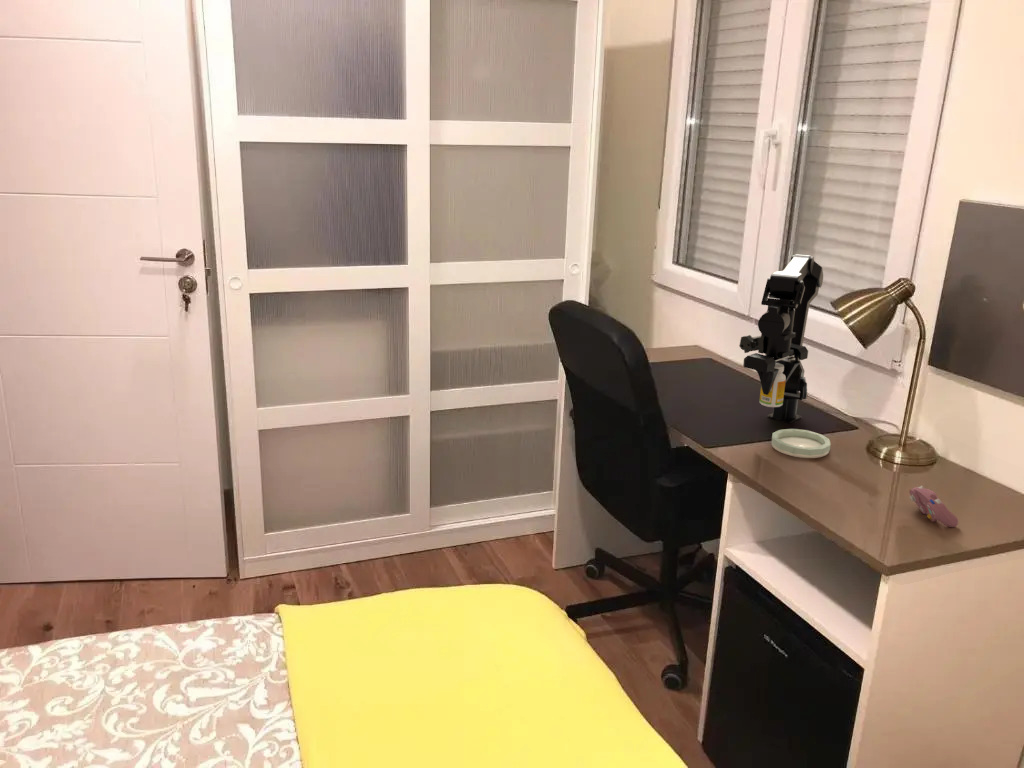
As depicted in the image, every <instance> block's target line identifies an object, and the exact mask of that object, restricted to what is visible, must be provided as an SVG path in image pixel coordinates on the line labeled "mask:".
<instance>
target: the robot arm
mask: <svg viewBox="0 0 1024 768" xmlns="http://www.w3.org/2000/svg"><path fill="white" fill-rule="evenodd" d="M823 271H824V269H823V267H822V266H821V265H820V264H819V263H817V262H816V261H815V258H814V256H812V255H809V254H797V253H796V254H793V255H791V257H790V260H789V262H788V264H787V265H786V266H785V268H783V270H778V271H777V270H775V271H774V272H772V273H771V274H770V277H768V278H767V280H766V283H765V287H764V291H763V295H762V298H761V299H762V300H761V306H767V309H766V310H767V311H766V312H764V313H763V314H762V315H761V316H760V317H759V318H758V319H759V320H758V321H757V328H758V330H759V332H760V335H757V336H753V337H752V335H750V334H749V335H744V336H741V337H740V340H739V341H740V342H739V348H740V349H741V350H742V351H744V354H747V353H750V352H755V353H752V354H749V355H747V356H745V357H743V362H742V363H743V365H742V366H743V368H745V369H750V370H752V371H755V372H757V374H758V377H759V381H760V387H761V386H762V390H763V394H765V395H768V394H769V392H770V390H771V387H772V385H773V383H774V380H775V378H776V376H777V373H778V371H779V369H775V364H776V363H779V364H783V365H784V371H783V372H782V373H783V374H784V375H785V376H786V382H785V390H784V398H783V404H782V406H780V407H773V410H772V411H773V412H772V413H770V414H768V415H766V417H767V418H769V419H772V420H777V421H780V422H784V423H787V424H791V423H794V422H796V421H798V420H800V419H801V418H802V415H799V414H797V412H798V411H797V410H798V403H799V401H802V400H807V397H808V396H807V395H808V383H807V380H806V377H805V368H804V366H803V364H802V362H801V361H803V360H805V359H808V355H809V350H808V349H807V347H806V346H805V345H804V340H805V339H804V338H805V334H806V333H805V332H806V326H807V320H808V315H809V309H810V304H811V303H812V302H813V300H814V299H815V298H816V297H817V296H818V294H819V289H821V287H822V286H823V283H824V282H823V281H824V272H823ZM756 351H758V353H757V352H756Z"/></svg>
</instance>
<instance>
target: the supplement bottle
mask: <svg viewBox="0 0 1024 768" xmlns="http://www.w3.org/2000/svg"><path fill="white" fill-rule="evenodd" d="M775 369H779V371H778V373H777V376H776V378H775V380H774V383H773V385H772V387H771V390H770V392H769V394H768V395H765V394H763V390H762V386H761V385H760V394H759V404H761V405H762V406H765V407H767V408H774V407H780V406H782V404H783V398H784V390H785V382H786V376H785V375H784V374H783V373H782V372H783V371H784V365H783V364H779V363H776V364H775Z"/></svg>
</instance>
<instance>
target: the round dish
mask: <svg viewBox="0 0 1024 768" xmlns="http://www.w3.org/2000/svg"><path fill="white" fill-rule="evenodd" d="M771 447H772V448H773V449H774V450H776V451H777V452H779V453H780V454H784V455H787V456H790V457H795V458H801V459H816V458H818V459H819V458H822V457H825V456H827V455H829V453H830V451H831V440H830V438H828V437H826V436H825V435H823V434H821V433H818V432H814V431H813V430H812V431H811V430H808V429H799V428H786V429H778V430H776V431H775V432H772V436H771Z"/></svg>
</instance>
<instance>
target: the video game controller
mask: <svg viewBox="0 0 1024 768" xmlns="http://www.w3.org/2000/svg"><path fill="white" fill-rule="evenodd" d="M908 491H909V499H910V501H911V502H914V503H915V505H916V506H917V508H918V509H919V512H921V513H922V514H923V515H927V516H926V517H927V518H928V519H929V520H930V521H931V522H932V523H934V522H936V521H938V522H940V523H941V524H943V525H944V526H947V527H949V528H956V527H957V526H958V525H959V519H958V517H957V516H956V515H955V514H954V513H952V512H951V511H950V510H949V509H948V507H946V505H945V503H944V502H943V501H942V500H941V499H940V498H939V497H938V495H937V494H936V492H935V491H933V490H932V489H929V488H925V487H924V486H923V485H920V486H915V487H913V488H911V489H909V490H908Z"/></svg>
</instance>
